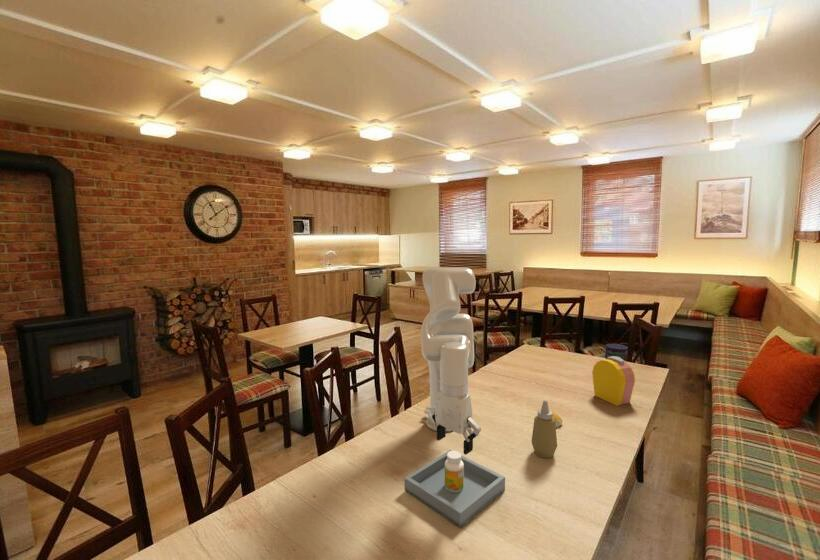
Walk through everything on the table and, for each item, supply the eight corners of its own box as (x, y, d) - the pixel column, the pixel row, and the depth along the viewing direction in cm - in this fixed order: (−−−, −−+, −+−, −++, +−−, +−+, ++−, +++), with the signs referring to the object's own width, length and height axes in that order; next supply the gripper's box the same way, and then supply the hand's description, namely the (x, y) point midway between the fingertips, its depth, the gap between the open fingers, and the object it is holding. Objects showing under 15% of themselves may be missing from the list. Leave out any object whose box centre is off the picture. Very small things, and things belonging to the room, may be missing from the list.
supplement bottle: (440, 486, 110) (440, 454, 109) (452, 478, 114) (452, 447, 113) (455, 495, 106) (455, 462, 105) (467, 486, 110) (467, 454, 109)
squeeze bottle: (540, 462, 123) (541, 408, 121) (526, 449, 131) (527, 397, 128) (562, 458, 125) (564, 404, 123) (547, 445, 133) (548, 394, 131)
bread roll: (551, 415, 154) (552, 406, 154) (565, 426, 146) (566, 416, 145) (533, 418, 152) (533, 408, 152) (546, 429, 144) (546, 419, 143)
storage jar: (599, 372, 200) (601, 344, 198) (615, 370, 202) (616, 342, 201) (615, 379, 190) (616, 349, 188) (631, 377, 193) (632, 347, 191)
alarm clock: (634, 403, 163) (636, 361, 161) (620, 407, 160) (622, 364, 158) (605, 390, 177) (606, 351, 175) (591, 393, 174) (592, 354, 172)
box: (404, 491, 110) (404, 477, 110) (450, 461, 124) (450, 449, 124) (460, 528, 96) (460, 513, 96) (504, 490, 110) (505, 477, 109)
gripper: (422, 382, 110) (422, 438, 113) (471, 402, 98) (470, 464, 101) (439, 375, 115) (439, 428, 118) (488, 392, 103) (487, 452, 106)
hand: (454, 445), depth 109 cm, fingers open, 9 cm apart
